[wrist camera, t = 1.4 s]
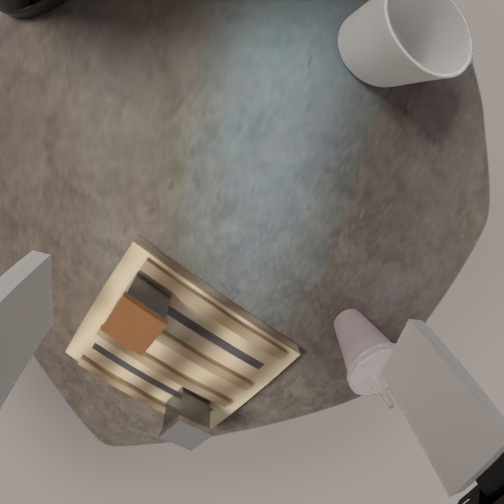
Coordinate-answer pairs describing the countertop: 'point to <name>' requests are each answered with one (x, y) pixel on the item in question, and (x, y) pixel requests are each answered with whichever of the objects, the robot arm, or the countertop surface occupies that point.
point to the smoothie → (363, 353)
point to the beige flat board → (183, 341)
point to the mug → (405, 42)
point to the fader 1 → (139, 314)
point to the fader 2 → (187, 419)
